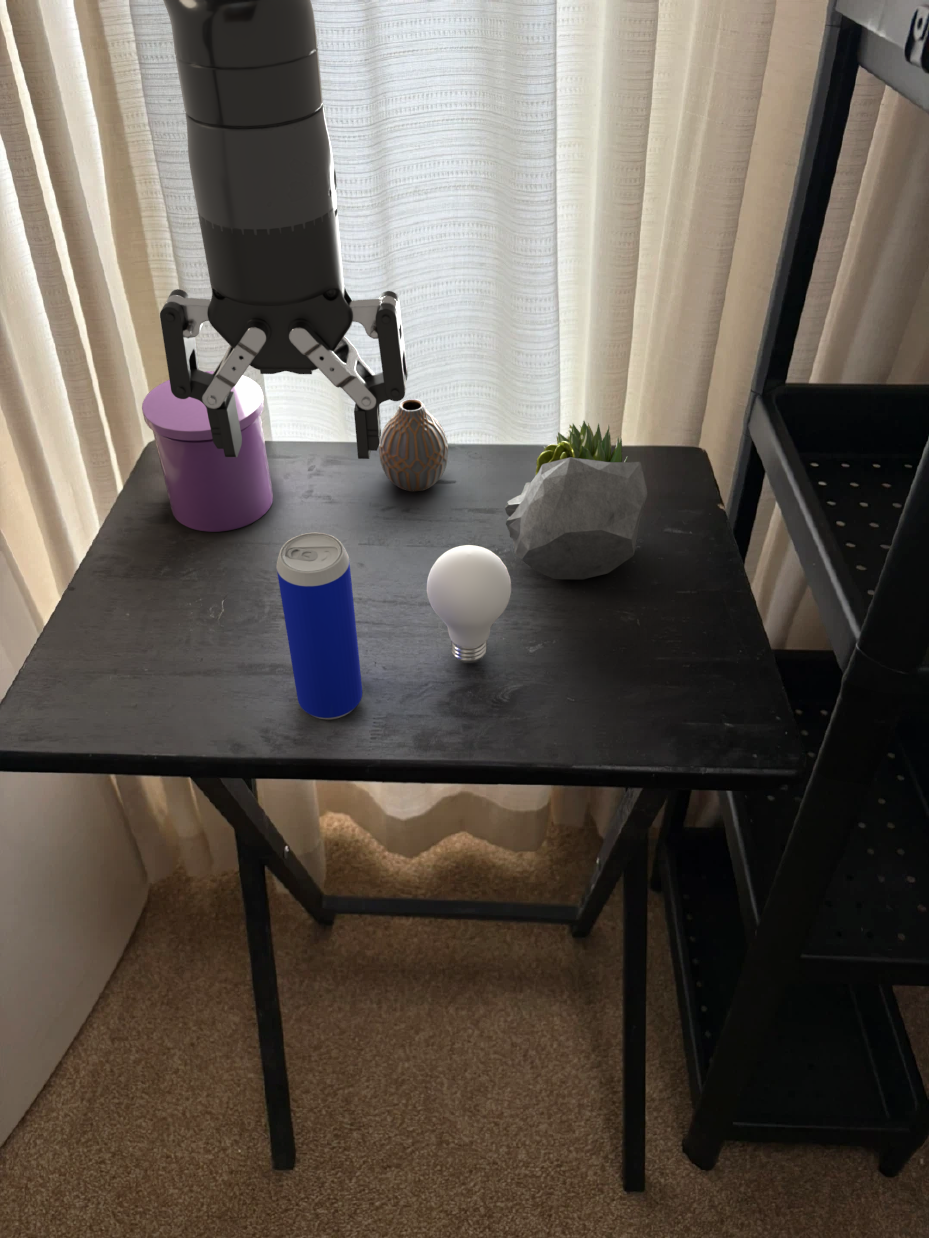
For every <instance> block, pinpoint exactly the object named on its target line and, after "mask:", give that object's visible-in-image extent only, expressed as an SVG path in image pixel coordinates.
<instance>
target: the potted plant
mask: <svg viewBox="0 0 929 1238" xmlns="http://www.w3.org/2000/svg"><path fill="white" fill-rule="evenodd" d="M600 427H601V426H600V423H599V422H598V423H597V426H596V430H595V433H594V432H593V429H592V427H591V426H590V423H589V422H587V423H586V421H585V420H583V421H582V424H579V428H580V430H579V429H578V428H577V426H576V425H575V424H574V423H571V424H569V428H567V431H566V436H565V434H561V433H560V432H559V431H557V435H556V443H551V444H548V445H546V446H543V451H542V452H541V453H540V454H539V455H538V456H537V459H536V463H535V464H536V468H535V476H534V478H533V479H532V481H531V482H528V481H527V482H525V485H524V487H523V489H522V492H521V494H519V495H517V496H514V497H513V498H511V499H509V500H507V501H506V504H505V507H504V510H505V513H506V515H507V516H508V519H507V520H506V521H505V526H506V528H507V530H508V532H509V537H510V538H511V539H512V543H513V544H512V545H513V551H514V555H515V556H516V557H517V558H519V559H520V560H521V561H522V562H524V563H525V564H527V566H529V567H531V568H532V569H533V570H535V571H536V572H538V573H540V574H542V575H544V576H546V577H548V578H550V579H552V580H587V579H590V578H594V577H599V576H602V575H606V574H607V575H608V574H609V573H611V572H612V571H614V570H615V569H616V568H618V567H619V566H621V565H622V564H624V563H625V562H626V561H628V560H630V559H632V558H633V557H634V556H635V551H636V545H637V540H638V539H637V538H638V534H639V528H640V522H641V519H642V516H643V513H644V511H645V507H646V502H647V498H648V494H649V493H648V490H647V485H646V480H645V475H644V472H643V467H642V463H641V461H628V456H626V457H625V460H624V461H623V440H622V437H620V438H619V437H617V438H616V444H615V445H616V446H615V448H614V449H613V450H612V440H611V432H610V425H607V430H606V431H605V434H604V436H603V438H602V432H601V428H600Z"/></svg>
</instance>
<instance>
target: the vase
mask: <svg viewBox="0 0 929 1238" xmlns="http://www.w3.org/2000/svg"><path fill="white" fill-rule="evenodd" d="M378 456H379V462H380V465H381V469H382V470H383V472H384V474H385V476H386V477H387V479H388V480H389V481H390V483H392V484H393V485H395V486H396V487H398V488H399V489H402V490H404V491H408V492H421V491H425V490H427V489H430V488H431V487H433V486H434V485H435V484H436V483H438V481H440V479H441V478H442V477H443V475H444V473H445V471H446V468H447V465H448V461H449V443H448V439H447V436H446V432H445V430H444V428H443V427H442V424H441V423H440V422H439V421H438V419H437V418H436V417H435V416H433V414H431V412H429V410H428V409H427V408H426V405H425V404H424V402H423V401H421V400H420V399H415V398H414V399H413V398H410V399H409V398H408V399H405V400H403V401H401V402H400V403H399V404H398V407H397V409H396V411H395V413H394V414H393V415H392V416H391V417H390V419H389V420H388V421H387V422H386V424H385V425H384V427H383V429H382V430H381V437H380V444H379V446H378Z"/></svg>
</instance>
